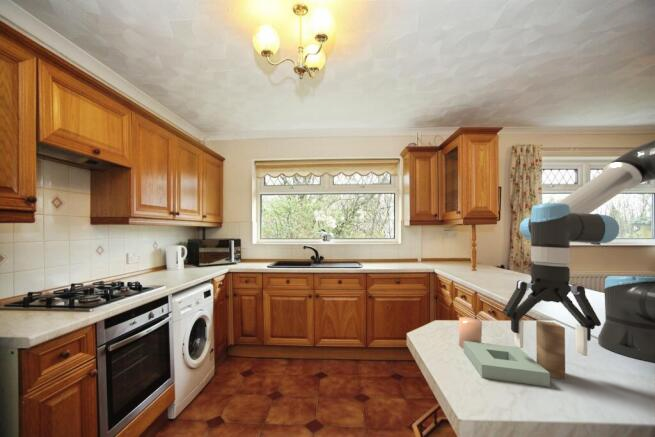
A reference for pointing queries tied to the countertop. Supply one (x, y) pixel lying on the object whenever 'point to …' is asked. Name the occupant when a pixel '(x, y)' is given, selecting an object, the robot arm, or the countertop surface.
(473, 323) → the round peg
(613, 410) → the countertop surface
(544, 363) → the square peg
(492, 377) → the bore plate
